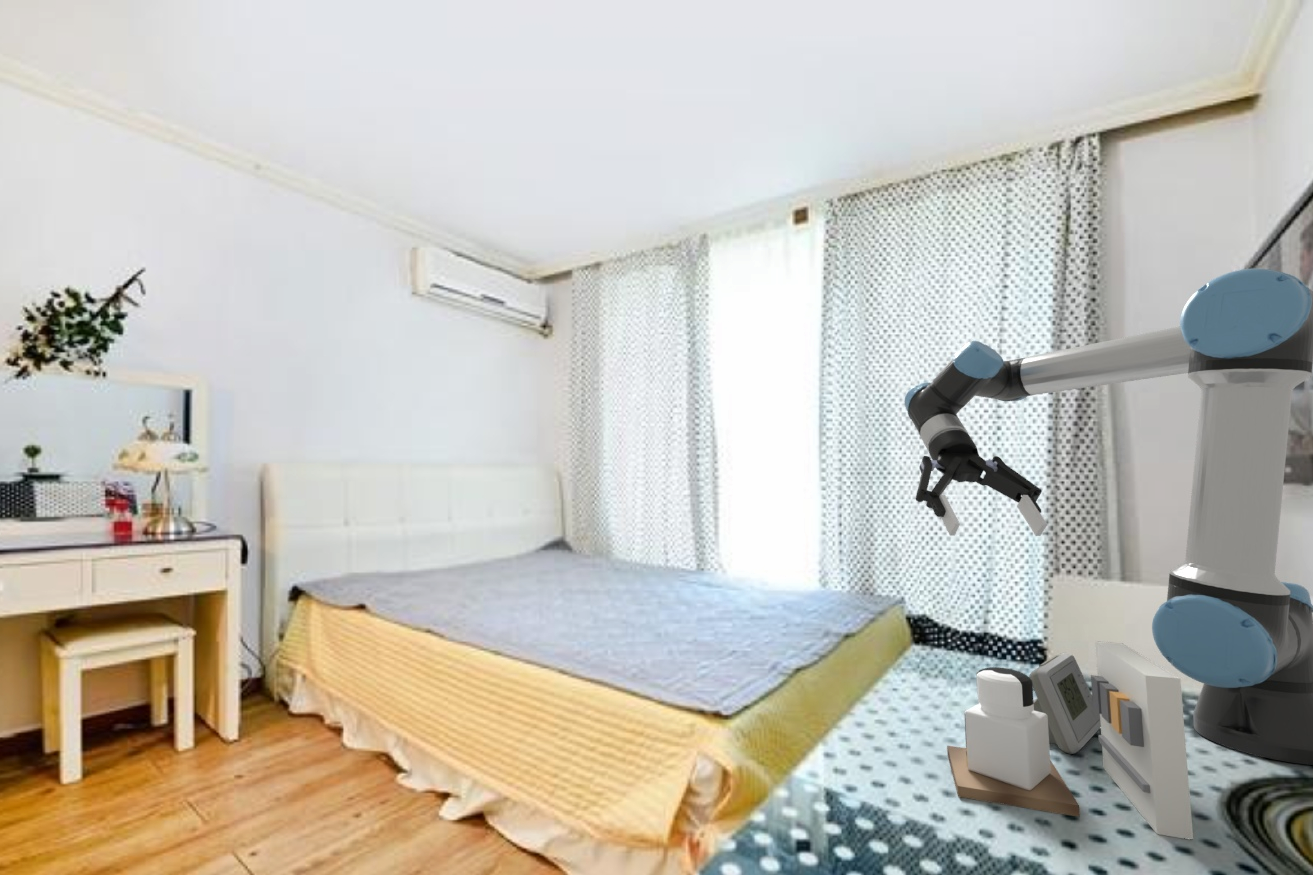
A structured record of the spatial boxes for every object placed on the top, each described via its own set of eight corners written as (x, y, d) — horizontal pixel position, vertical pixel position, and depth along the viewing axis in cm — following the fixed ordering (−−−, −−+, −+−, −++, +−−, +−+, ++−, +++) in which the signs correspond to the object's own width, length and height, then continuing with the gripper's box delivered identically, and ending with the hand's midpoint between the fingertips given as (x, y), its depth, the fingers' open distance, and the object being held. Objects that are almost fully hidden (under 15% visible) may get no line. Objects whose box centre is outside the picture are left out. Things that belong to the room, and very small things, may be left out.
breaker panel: (1131, 772, 75) (1122, 643, 77) (1193, 840, 60) (1180, 678, 62) (1092, 766, 77) (1084, 640, 78) (1143, 831, 62) (1131, 674, 63)
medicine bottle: (989, 754, 78) (984, 660, 79) (1051, 773, 72) (1046, 672, 73) (965, 770, 73) (961, 670, 74) (1030, 792, 68) (1024, 684, 69)
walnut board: (1050, 769, 76) (1050, 759, 76) (1080, 817, 65) (1079, 805, 65) (947, 754, 80) (947, 745, 80) (958, 796, 69) (957, 785, 69)
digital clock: (1073, 760, 79) (1068, 678, 80) (1004, 737, 86) (1000, 662, 87) (1128, 735, 87) (1122, 661, 88) (1060, 716, 95) (1056, 647, 96)
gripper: (1008, 459, 112) (1067, 545, 96) (876, 458, 112) (912, 545, 96) (1024, 428, 107) (1088, 513, 91) (886, 427, 108) (925, 513, 91)
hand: (998, 530), depth 93 cm, fingers open, 13 cm apart
